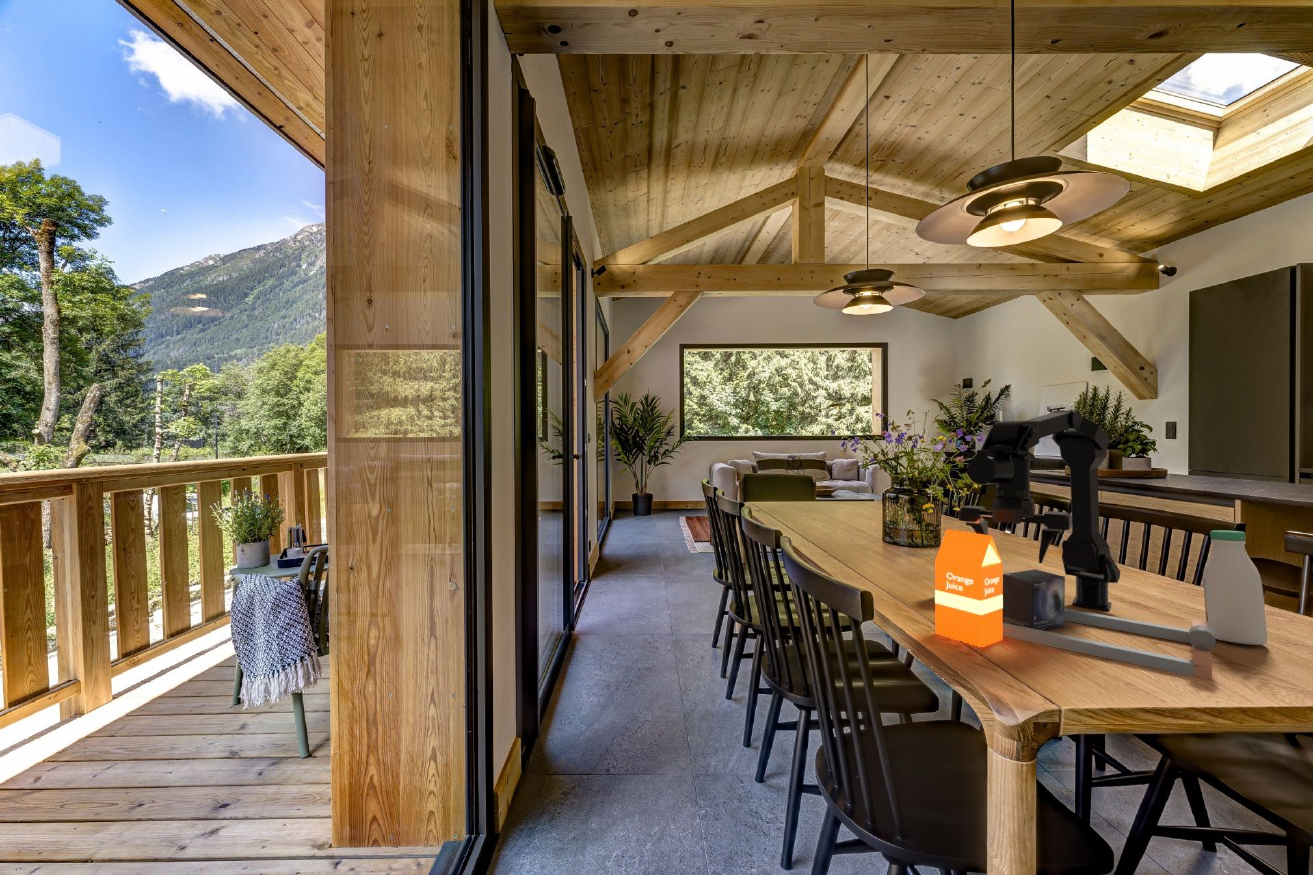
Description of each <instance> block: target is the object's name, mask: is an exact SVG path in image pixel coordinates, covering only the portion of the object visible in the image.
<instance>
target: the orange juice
mask: <svg viewBox="0 0 1313 875" xmlns="http://www.w3.org/2000/svg"><path fill="white" fill-rule="evenodd" d="M943 536H944V538H943V537H942V539H943V541H942V540H941V541H942V543H941V544H940V547H939V550H938V552H937V555H936V557H935V558H934V574H935V575H934V576H935V577H934V581H935V582H934V584H935V585H934V587H935V589H934V603H935V604H934V605H935V606H934V608H935V609H934V610H935V614H934V615H935V616H934V617H935V619H934V620H935V623H934V624H935V626H934V627H935V635H938V634H939V635H938V636H941V637H944V636H945V638H948V637H949V638H948V639H951V640H955V641H958V642H960V641H962V642H961V643H964V644H967V643H969V644H968V645H970V646H973V645H975V646H974V647H976V646H978V647H977V648H980V647H983V648H985V647H987V645H988V646H991V645H992V644H996V643H998V642H1001V641H1003V638H1004V636H1003V622H1002V608H1003V594H1002V592H1003V561H1002V559H1001V556H1000V554H999V552H998V549H997V546H996V544H995V541H994V539H993V535H989V534H988V535H983V534H976V532H968V531H961V530H954V529H946V530H945V533H944V535H943Z"/></svg>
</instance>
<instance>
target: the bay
mask: <svg viewBox="0 0 1313 875" xmlns="http://www.w3.org/2000/svg"><path fill="white" fill-rule="evenodd" d="M1064 613H1065V615H1064V616H1065V621H1066V622H1072V623H1078V624H1081V625H1082V624H1083V625H1086V626H1087V625H1088V626H1094V627H1100V628H1104V629H1110V630H1114V631H1115V630H1117V631H1120V632H1127V633H1132V634H1138V635H1143V636H1149V637H1154V638H1158V639H1164V640H1168V641H1169V640H1171V641H1175V642H1176V641H1177V642H1182V643H1186V644H1190V645H1191V649H1192V650H1191V651H1192V654H1191V655H1192V659H1188V658H1184V657H1180V656H1179V657H1178V656H1172V655H1169V654H1163V653H1157V652H1152V651H1148V650H1142V649H1138V648H1137V649H1136V648H1132V647H1127V646H1123V645H1117V644H1113V643H1106V642H1102V641H1097V640H1092V639H1087V638H1082V637H1077V636H1072V635H1065V634H1061V633H1057V632H1052V631H1042V630H1037V629H1032V628H1027V627H1022V626H1017V625H1012V624H1007V623H1003V638H1004V637H1005V638H1010V639H1014V640H1019V641H1023V642H1028V643H1033V644H1038V645H1043V646H1047V647H1052V648H1055V649H1056V648H1057V649H1060V650H1067V651H1071V652H1076V653H1081V654H1085V655H1089V656H1095V657H1097V658H1099V657H1100V658H1103V659H1109V660H1113V661H1118V662H1123V663H1128V664H1132V665H1137V666H1141V667H1146V668H1151V669H1154V670H1155V669H1156V670H1161V671H1165V672H1171V673H1173V674H1174V673H1175V674H1178V675H1179V674H1180V675H1184V676H1189V677H1192V678H1193V677H1194V678H1198V679H1202V678H1203V680H1208V681H1212V680H1213V679H1212V677H1213V675H1212V674H1213V672H1212V670H1213V667H1212V664H1213V663H1212V662H1213V658H1212V656H1213V655H1212V650H1213V649H1215V647H1216V645H1217V643H1216V639H1215V636H1214V633H1213V632H1212V630H1211V629H1209V628H1208V627H1207V622H1206V621H1204V620H1198V619H1191V627H1190V628H1189V629H1188V628H1182V627H1176V626H1170V625H1164V624H1158V623H1154V622H1147V621H1142V620H1136V619H1130V618H1129V619H1128V618H1124V617H1118V616H1112V615H1106V614H1100V613H1095V612H1089V611H1082V610H1077V609H1072V608H1066V607H1065V612H1064ZM1065 621H1064V622H1065Z"/></svg>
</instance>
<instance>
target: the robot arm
mask: <svg viewBox="0 0 1313 875" xmlns="http://www.w3.org/2000/svg"><path fill="white" fill-rule="evenodd" d="M1049 436H1051V439H1052V440H1053V441H1054V443H1055V444H1056V445H1057V447H1059V454H1060V458H1061V459H1062V460H1063V462H1064V463H1065V464H1066V466H1068V468H1069V475H1070V476H1069V477H1070V479H1069V480H1070V503H1071V504H1070V505H1071V514H1070V513H1069V512H1065V511H1064V512H1063V511H1051V510H1050V511H1049V510H1046V511H1045V512H1044V513H1043V514H1039V513H1037V514H1036V505H1035V501H1034V500H1035V499H1034V498H1031V485H1030V484H1031V467H1030V466H1031V461H1035V460H1036V456H1035V455H1034V454H1033V453H1031V451H1029V450H1030V449H1033V447H1035V446H1037V445H1038V444H1040V439H1042V438H1045V437H1049ZM1109 445H1110V441H1109V436H1108V435H1107V433H1106V432H1105V431H1104V430H1103V428H1102V427H1101V426H1100V425H1099V424H1098V423H1096V422H1094V421H1092V420H1089V419H1088V418H1086V417H1084V416H1083V415H1082V414H1081V412H1080V411H1078V410H1077V411H1076V410H1075V409H1073V410H1071V409H1070V410H1068V409H1067V410H1054V411H1052V412H1051V411H1050V412H1049V413H1048V414H1047V413H1046V414H1043V415H1040V416H1036V417H1034V418H1030V419H1026V420H1003V421H1002V420H999V421H996V422H994V423H993V424H992V427H990V430H989V432H988V434H987V436H986V438H985V440H984V442H983V445H982V446H981V449H977V450H976V456H974V457H972V458H971V459H970V460H969V462H968V464H967V467H966V473H967V475H968V478H969V479H970V480H971V481H972V482H973V483H974V484H977V485H981V486H982V485H983V486H984V485H994V484H995V485H996V486H995V487H996V488H995V490H996V491H995V496H994V499H993V502H992V503H991V510H986V508H985V506H980V505H979V506H978V505H965V506H962V507H961V508H960V509H959V510H958V521H960V522H965V525H966V526H969V527H971V528H972V529H973V531H974V533H976V534H983V535H989V531H988V530H989V529H988V528H989V527H988V520H989V521H990V520H991V521H992V522H994V523H1011V524H1012V525H1019V524H1022V523H1027V524H1028V523H1029V524H1038V525H1043V528H1042V529H1041V539H1040V546H1039V554H1038V563H1039V564H1042V563H1043V561H1044V558H1045V556H1046V553H1047V551H1048V549H1049V547H1050V544H1051V542H1052V541H1053V538H1054V537H1055V535H1060V534H1062V533H1063V531H1070V530H1071V534H1070V535H1069V536H1068V537H1067V539H1065V540H1063V541H1062V542H1061V548H1062V550H1061V551H1062V554H1061V559H1062V564H1063V569H1064V574H1065V575H1066V576H1071V577H1072V576H1073V577H1075V598H1074V599H1073V600H1072V602H1071V605H1073V606H1079V607H1084V608H1089V609H1095V610H1101V611H1110V610H1111V608H1112V602H1111V601H1109V584H1111V583H1112V584H1113V583H1114V584H1118V582H1119V580H1120V577H1121V570H1120V568H1119V567H1118V566H1117V564H1116V562H1115V560H1114V559H1113V557H1112V556H1111V550H1110V548H1111V547H1110V545H1109V543H1108V542H1107V541H1106V540H1105V538H1104V537H1103V535H1102V534H1101V532H1100V507H1099V506H1100V504H1099V503H1100V502H1099V474H1098V472H1099V467H1100V466H1101V464H1102V463H1103V462H1104V460H1105V459H1106V457H1107V455H1108V454H1107V452H1108V447H1109ZM986 520H987V521H986Z"/></svg>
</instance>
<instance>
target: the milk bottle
mask: <svg viewBox="0 0 1313 875" xmlns="http://www.w3.org/2000/svg"><path fill="white" fill-rule="evenodd" d="M1209 535H1210V542H1211V543H1212V550H1211V554H1210V555H1209V557H1208V560H1206V563H1205V566H1203V567H1204V568H1203V574H1202V580H1203V583H1202V584H1203V595H1204V608H1205V620H1206V622H1207V627H1208V628H1209V629H1211V630H1212V632H1213V633H1214V636H1215V640H1219V641H1222V642H1223V641H1224V642H1229V643H1235V644H1243V645H1254V646H1260V645H1266V644H1267V642H1268V630H1267V629H1268V628H1267V620H1266V619H1267V618H1266V610H1265V598H1264V590H1263V585H1262V584H1263V583H1262V578H1261V575H1260V572H1259V571H1258V568H1257V566H1256V565H1255V564H1254V562H1253V560H1251V558H1250V557H1249V555H1248V552H1247V550H1246V547H1245V544H1247V542H1246V539H1247V537H1246V533H1245V532H1244V531H1240V530H1239V531H1238V530H1222V529H1219V530H1215V529H1214V530H1211V531H1210V534H1209Z"/></svg>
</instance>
